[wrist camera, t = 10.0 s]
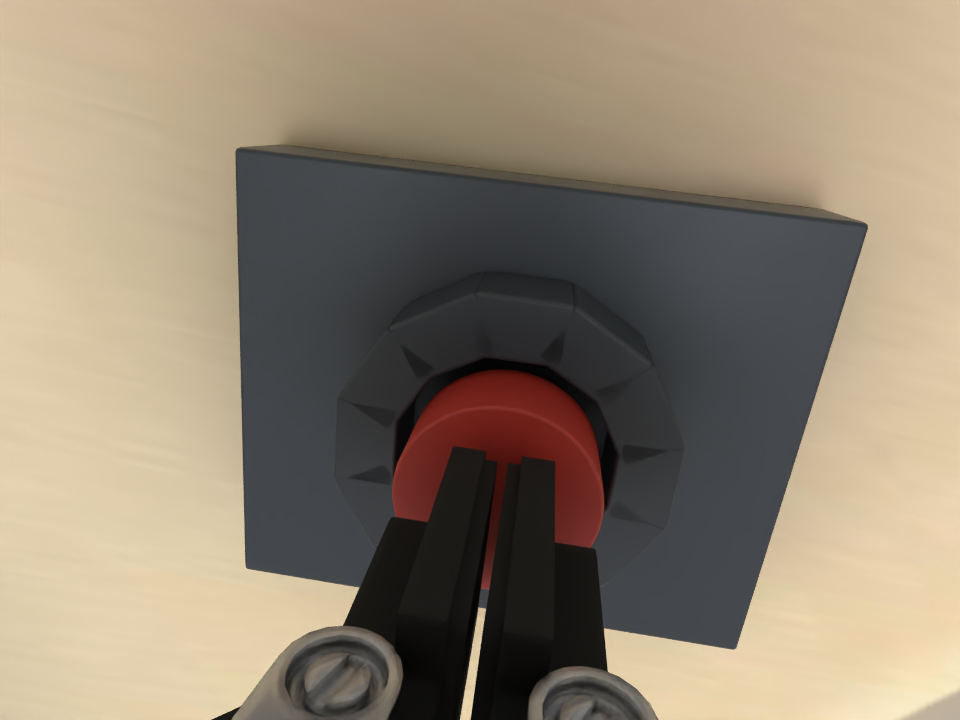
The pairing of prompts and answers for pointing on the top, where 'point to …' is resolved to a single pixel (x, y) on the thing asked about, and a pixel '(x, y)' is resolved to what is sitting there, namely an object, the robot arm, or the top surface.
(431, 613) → the robot arm
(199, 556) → the top surface
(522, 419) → the red button
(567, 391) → the button housing
